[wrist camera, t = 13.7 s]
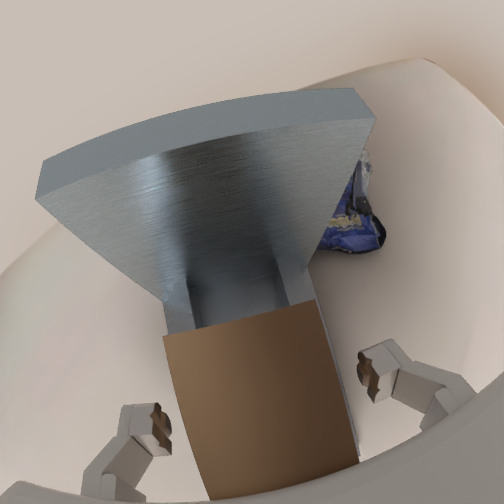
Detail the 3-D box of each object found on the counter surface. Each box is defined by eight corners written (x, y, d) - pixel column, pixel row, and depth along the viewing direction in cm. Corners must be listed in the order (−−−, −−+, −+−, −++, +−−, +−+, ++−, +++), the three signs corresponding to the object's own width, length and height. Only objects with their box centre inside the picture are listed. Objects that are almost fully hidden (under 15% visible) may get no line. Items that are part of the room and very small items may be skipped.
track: (216, 488, 14) (163, 626, 1) (163, 284, 20) (43, 161, 7) (355, 451, 15) (483, 539, 2) (298, 251, 20) (352, 88, 7)
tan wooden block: (241, 437, 15) (223, 530, 5) (217, 350, 17) (162, 336, 7) (303, 422, 15) (366, 494, 5) (279, 335, 17) (314, 299, 7)
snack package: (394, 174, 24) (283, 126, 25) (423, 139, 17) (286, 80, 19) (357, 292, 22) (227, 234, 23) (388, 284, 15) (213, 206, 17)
